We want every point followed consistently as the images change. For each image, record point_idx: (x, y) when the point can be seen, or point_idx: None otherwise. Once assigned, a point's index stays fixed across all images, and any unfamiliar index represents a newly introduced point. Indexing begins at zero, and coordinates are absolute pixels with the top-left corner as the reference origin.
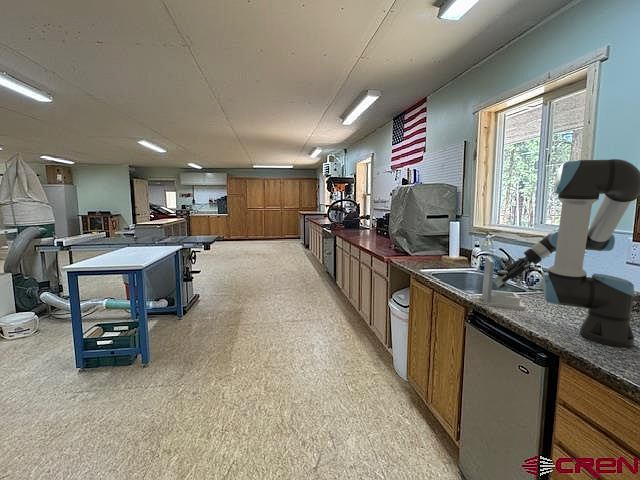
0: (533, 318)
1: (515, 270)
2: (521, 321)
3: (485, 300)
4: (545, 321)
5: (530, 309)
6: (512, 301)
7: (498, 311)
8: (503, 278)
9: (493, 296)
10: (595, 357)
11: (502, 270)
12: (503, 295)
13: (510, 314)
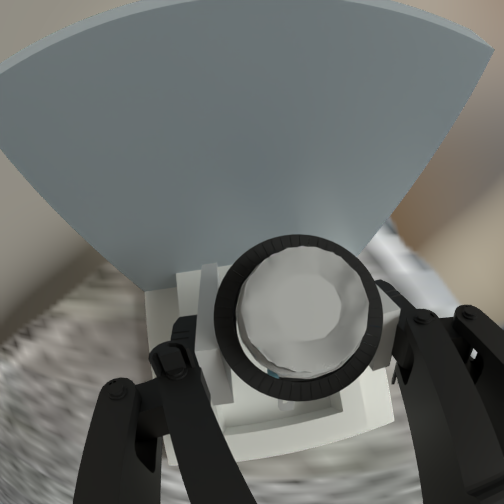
0: (61, 455)
1: (79, 480)
2: (10, 394)
3: None
4: (54, 484)
5: None
6: None
7: (78, 329)
8: (195, 331)
9: (179, 296)
10: None
11: (354, 290)
12: None
13: (61, 375)
